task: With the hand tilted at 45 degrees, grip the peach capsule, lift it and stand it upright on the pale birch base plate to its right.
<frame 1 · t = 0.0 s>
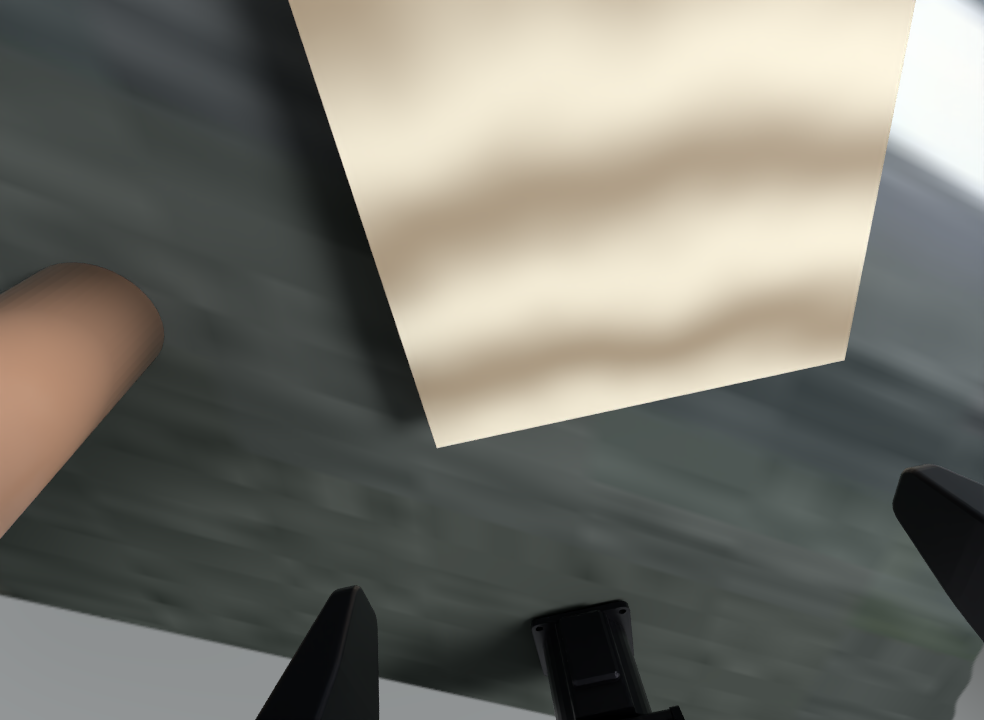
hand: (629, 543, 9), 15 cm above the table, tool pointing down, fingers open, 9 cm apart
peach capsule: (95, 321, 21), on the table
birch base plate: (607, 182, 20), on the table
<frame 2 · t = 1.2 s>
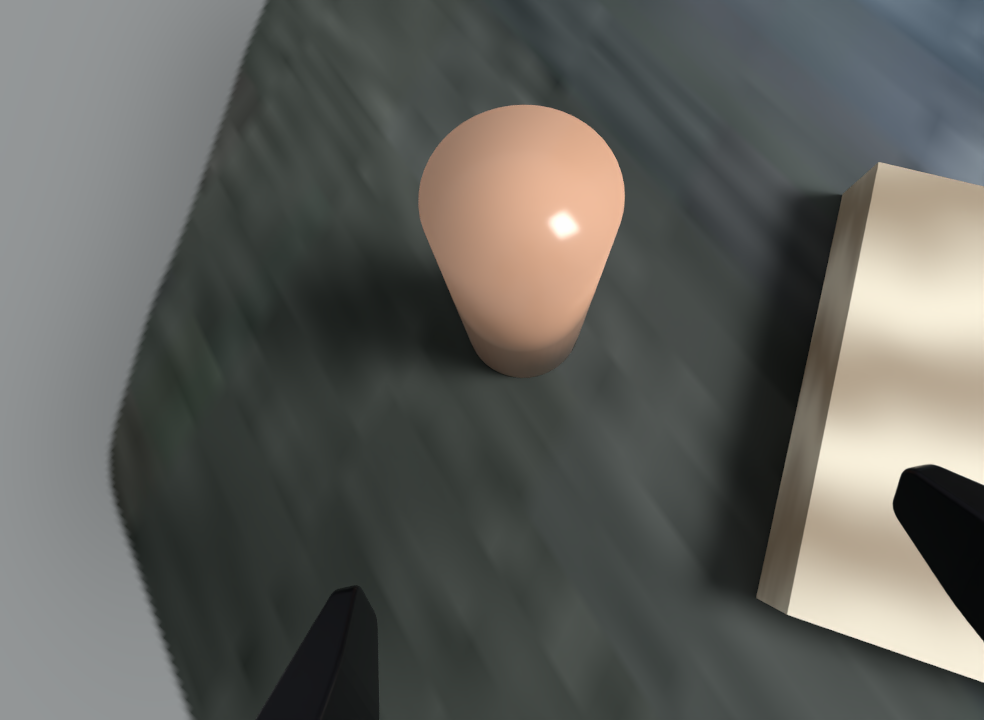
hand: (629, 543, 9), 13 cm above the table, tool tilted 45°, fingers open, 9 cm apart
peach capsule: (523, 322, 23), on the table
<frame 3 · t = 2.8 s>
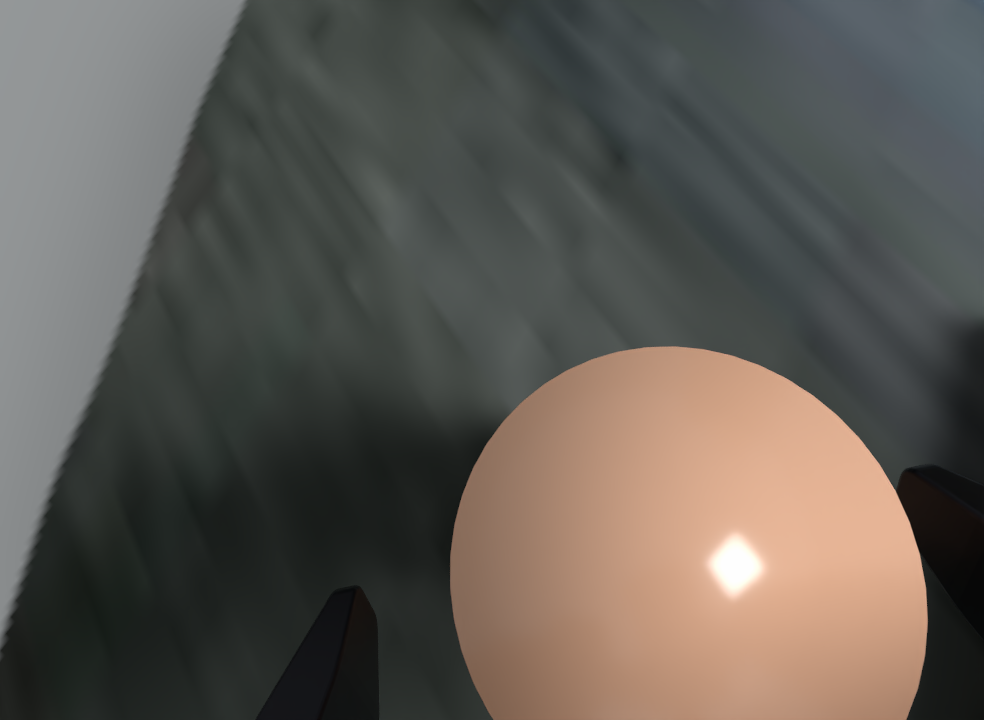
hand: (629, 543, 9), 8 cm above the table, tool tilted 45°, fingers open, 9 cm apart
peach capsule: (580, 512, 16), on the table
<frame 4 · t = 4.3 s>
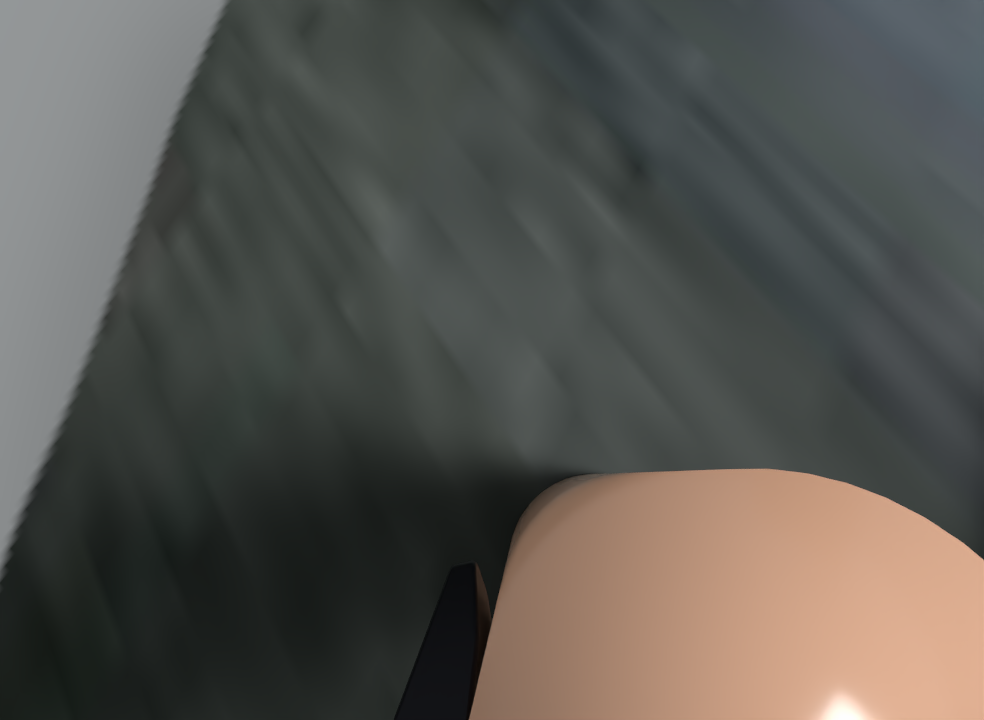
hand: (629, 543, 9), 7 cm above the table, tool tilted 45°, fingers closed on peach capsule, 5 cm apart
peach capsule: (597, 565, 15), on the table, touching gripper
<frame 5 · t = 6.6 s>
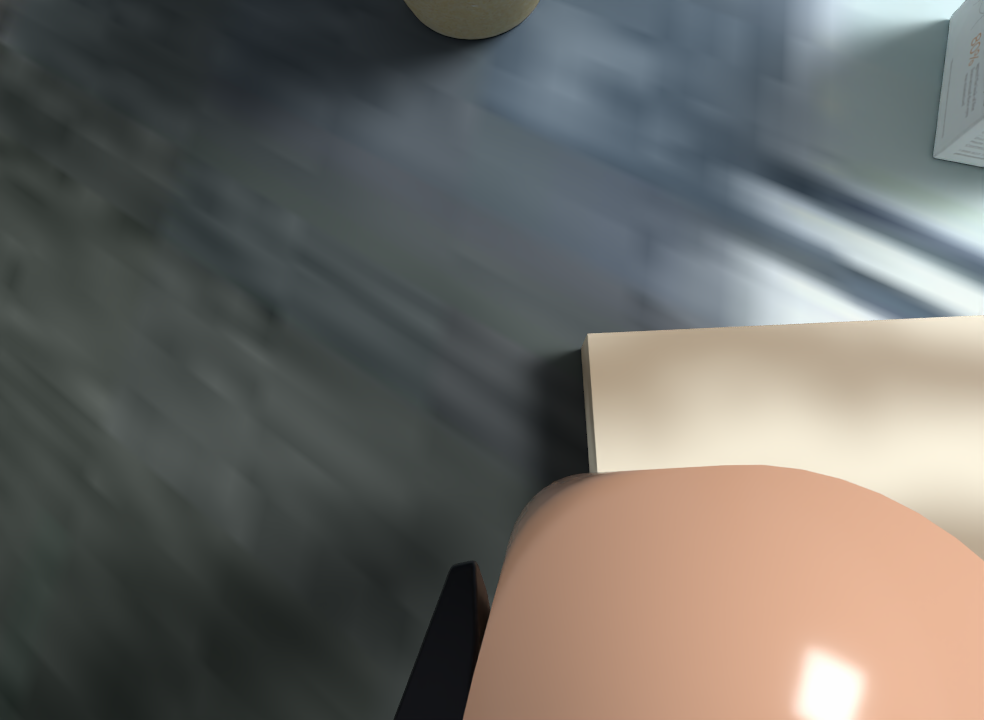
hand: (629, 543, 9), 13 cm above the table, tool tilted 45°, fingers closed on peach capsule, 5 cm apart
peach capsule: (596, 563, 15), point 7 cm above the table, touching gripper
birch base plate: (827, 561, 21), on the table
when the fingers open (10 cm above the table, at t = 8.9 s): peach capsule drops 1 cm, resting on birch base plate.
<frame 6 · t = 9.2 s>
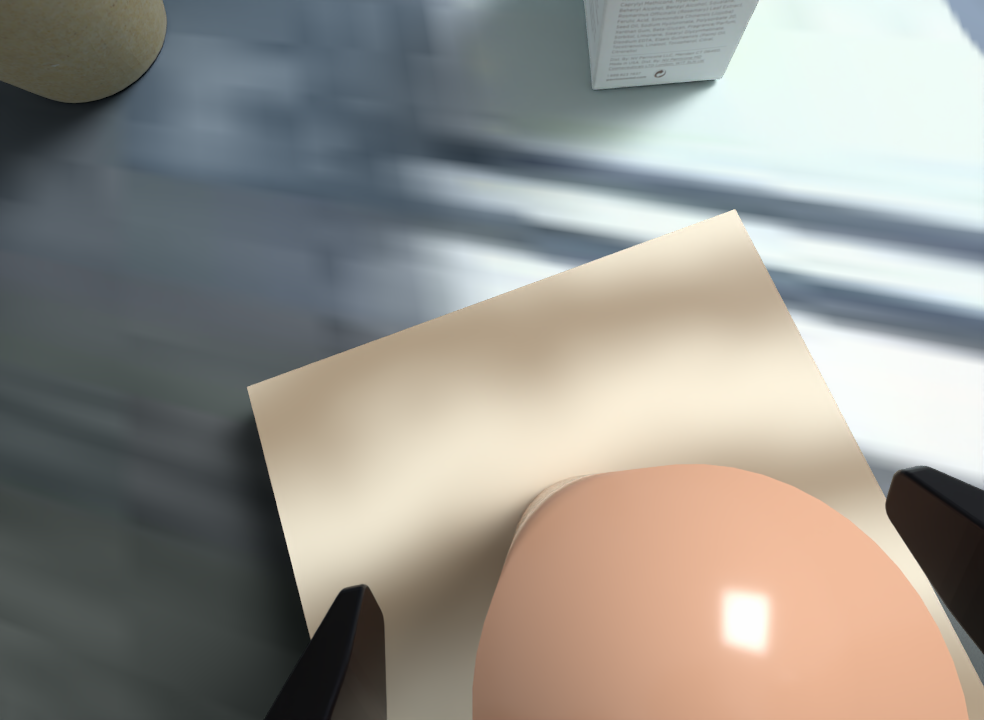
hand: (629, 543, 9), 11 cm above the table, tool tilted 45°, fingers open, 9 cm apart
peach capsule: (593, 558, 16), point 3 cm above the table, touching birch base plate
small box: (644, 15, 23), on the table
plant pot: (100, 38, 25), on the table
birch base plate: (583, 546, 19), on the table
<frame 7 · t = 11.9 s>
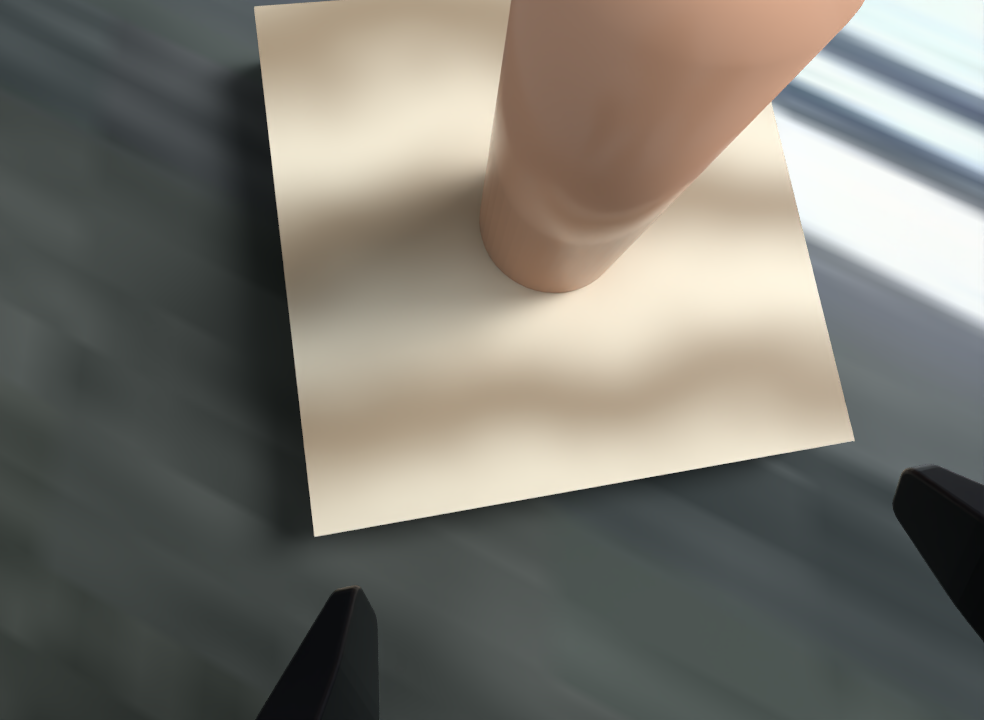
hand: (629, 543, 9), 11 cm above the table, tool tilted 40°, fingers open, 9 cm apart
peach capsule: (552, 222, 18), point 2 cm above the table, touching birch base plate
birch base plate: (538, 247, 20), on the table
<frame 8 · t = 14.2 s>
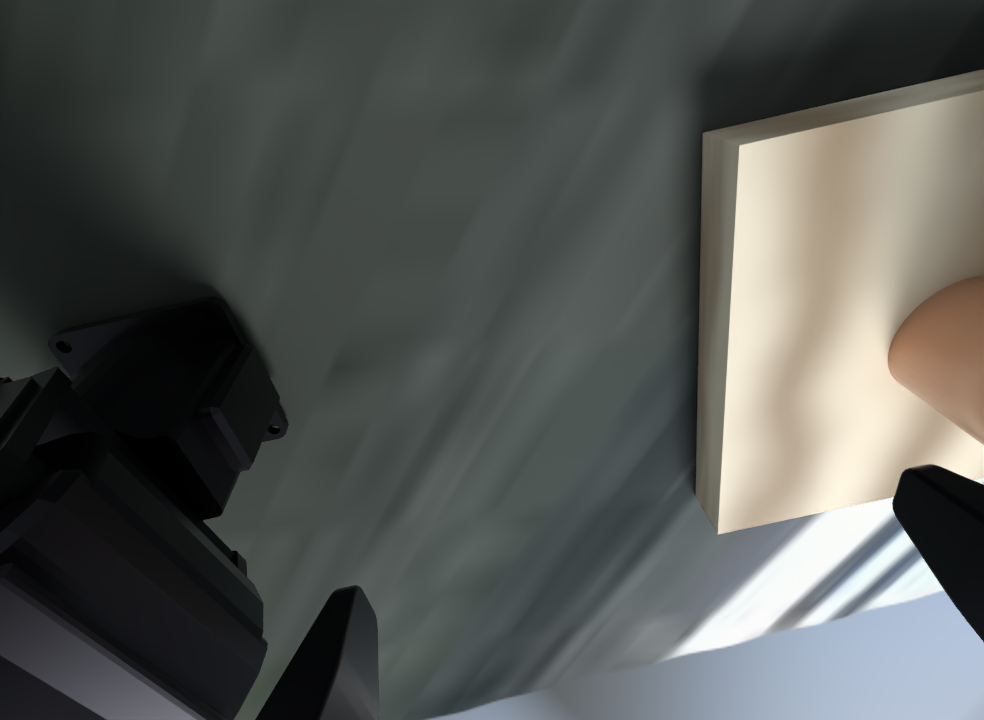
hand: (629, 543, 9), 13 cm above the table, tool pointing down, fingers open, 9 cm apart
peach capsule: (952, 336, 20), point 2 cm above the table, touching birch base plate
birch base plate: (904, 307, 23), on the table
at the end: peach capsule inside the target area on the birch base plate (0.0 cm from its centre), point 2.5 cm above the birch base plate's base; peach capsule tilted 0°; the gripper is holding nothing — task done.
